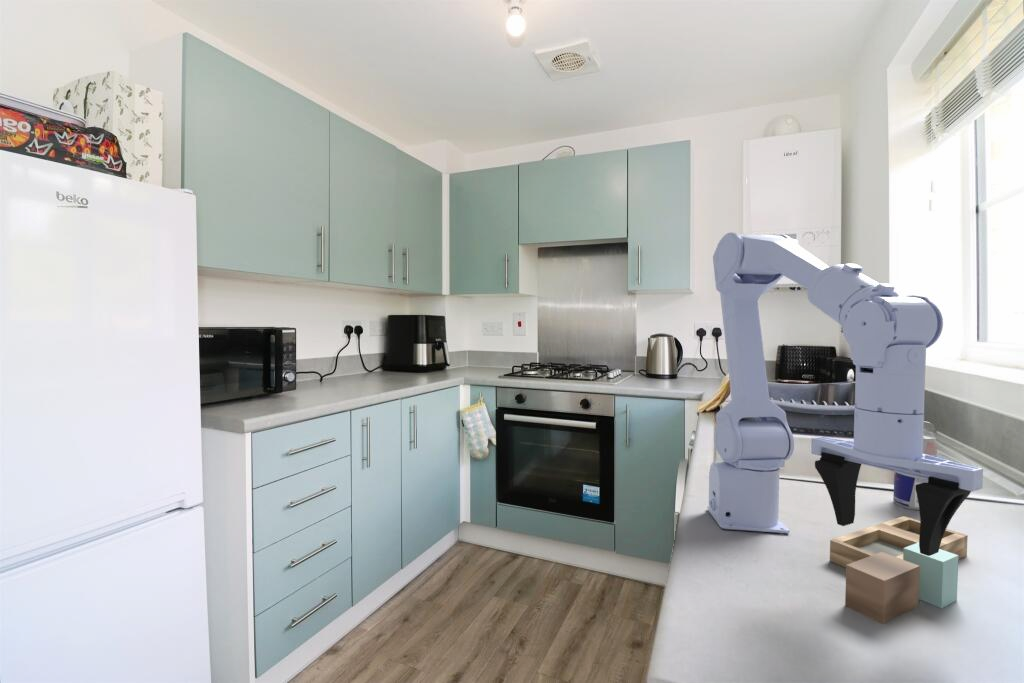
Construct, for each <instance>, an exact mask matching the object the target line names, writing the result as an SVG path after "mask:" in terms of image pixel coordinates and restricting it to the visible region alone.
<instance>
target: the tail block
mask: <svg viewBox="0 0 1024 683" xmlns="http://www.w3.org/2000/svg"><path fill="white" fill-rule="evenodd" d="M903 560H905V561H908V562H911V563H913V564H916V565H919V566H920V575H919V600H921V601H923V602H926V603H928V604H930V605H933V606H935V607H938V608H939V609H943V608H945V607H947V606H949V605H950V604H952V603H955V602H956V601H957V600H958V583H959V582H958V578H959V577H958V576H959V559H958V555H956V554H953V553H950V552H947V551H944V550H941V549H939V552H938V553H935V554H933V555H931V556H927V555H924V554H921V553H920V548H919V542H918V543H916V544H913V545H910V546H908V547H905V548H904V550H903Z"/></svg>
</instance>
